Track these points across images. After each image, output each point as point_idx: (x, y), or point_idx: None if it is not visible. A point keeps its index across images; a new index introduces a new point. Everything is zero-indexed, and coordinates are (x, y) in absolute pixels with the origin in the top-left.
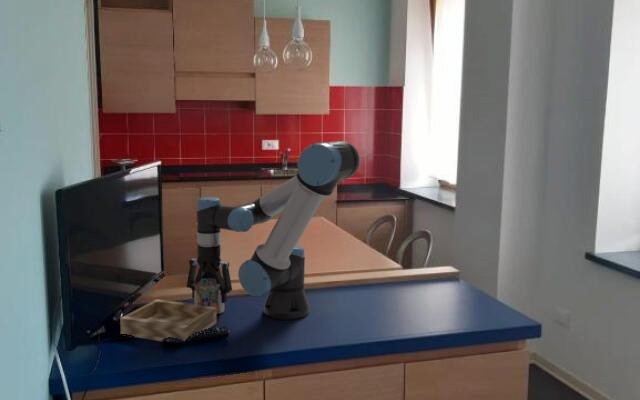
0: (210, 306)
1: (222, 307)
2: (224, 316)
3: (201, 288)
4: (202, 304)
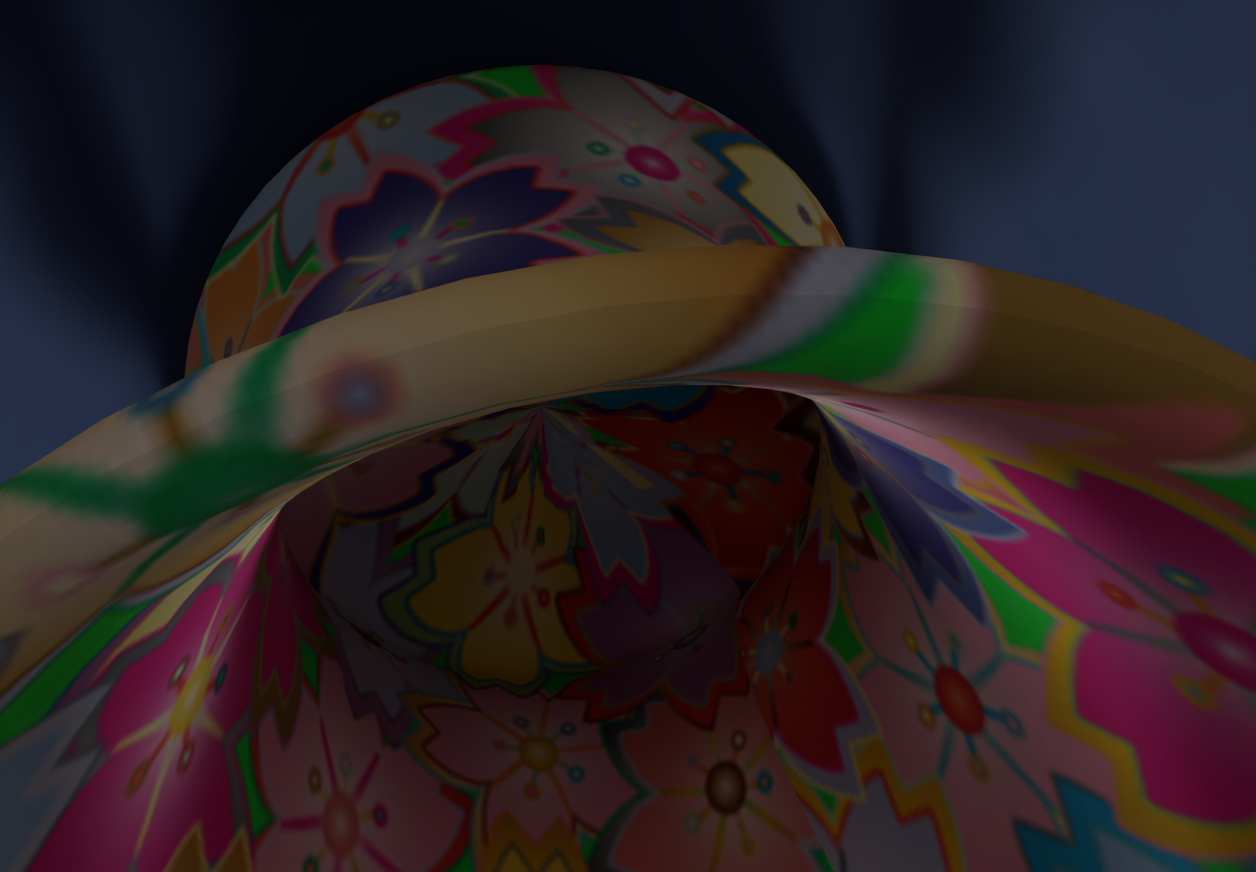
0: (277, 329)
1: None
2: (4, 426)
3: (481, 289)
4: (526, 213)
